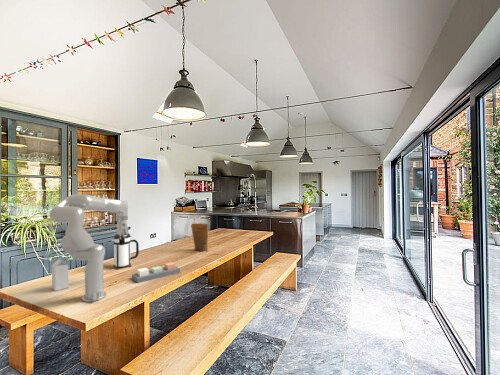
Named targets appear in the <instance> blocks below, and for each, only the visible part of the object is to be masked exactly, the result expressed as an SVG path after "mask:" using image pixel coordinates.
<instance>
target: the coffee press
mask: <svg viewBox="0 0 500 375" xmlns="http://www.w3.org/2000/svg"><path fill="white" fill-rule="evenodd" d="M131 237H132V236H131V234H130V233H129V232H128V234H127V235H126V234H125V245H119V234H117V233H115V234H114V236H112V239H111V242H113V267H115V269H116V270H119V269H120V267H126V266H127V267H129V268H131V267H132V264H131V260H134V259H136V258H138V256H139V254H140V253H139V252H140V249H139V242H138V240H136V239H131ZM131 243H135V251H136V252H135V255H134V256H131Z"/></svg>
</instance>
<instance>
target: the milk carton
mask: <svg viewBox="0 0 500 375" xmlns="http://www.w3.org/2000/svg"><path fill="white" fill-rule="evenodd" d="M51 288H52V289H53V290H54V291H55V292H56V291H61V290H65V289H69V264H67V263H66V262H64V261H63V260H62V259H61V258H59V257H58V258H57V260H56V261H55V262H54V263H53V264H51Z"/></svg>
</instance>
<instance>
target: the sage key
mask: <svg viewBox="0 0 500 375" xmlns="http://www.w3.org/2000/svg"><path fill="white" fill-rule="evenodd" d="M150 270H151V272H153V273H158V272H162V266H153V267H151V268H150Z"/></svg>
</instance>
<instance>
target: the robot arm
mask: <svg viewBox="0 0 500 375" xmlns="http://www.w3.org/2000/svg"><path fill="white" fill-rule="evenodd" d="M128 209H129V204H128V201H127V200H120V199H119V200H118V199H113V198H107V197H106V198H105V197H100V196H95V195H89V194H71V195H68V196H67V197H65V198H64V199H63V200H60V202H59V203H57V204H56V205H55V206H53V207H52V208H51V209H50V211H49V219H50V220H51V221H53V222H54V223H68V224H67V227H66V229H65V235H63V237H62V239H61V242H60V243H61V247H62V249H63V250H64V251H65V252H66V253H67V254H68V255H69V256H70V257H72V258H73V259H74V260H77V261H87V263H86V265H85V266H84V295H82V297H81V300H82V302H85V303H89V302H96V301H99V300H103V299H104V298H106V296H107V293H108V292H107V291H105V290H104V282H105V281H104V260H105V254H106V249H105V246H103V245H102V244H98V243H95V241H94V239H93V237H92V236H91V235H90V234H89V232H88V231H87V230H86V229H85V228H84V220H85V216H86V215H85V211H93V212H94V211H95V212H107V213H115V222H116V234H119V245H125V234H126V235H127V234H128V233H129V229H128V228H129V227H128V221H129V220H128V217H129V216H128ZM84 210H85V211H84Z"/></svg>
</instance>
